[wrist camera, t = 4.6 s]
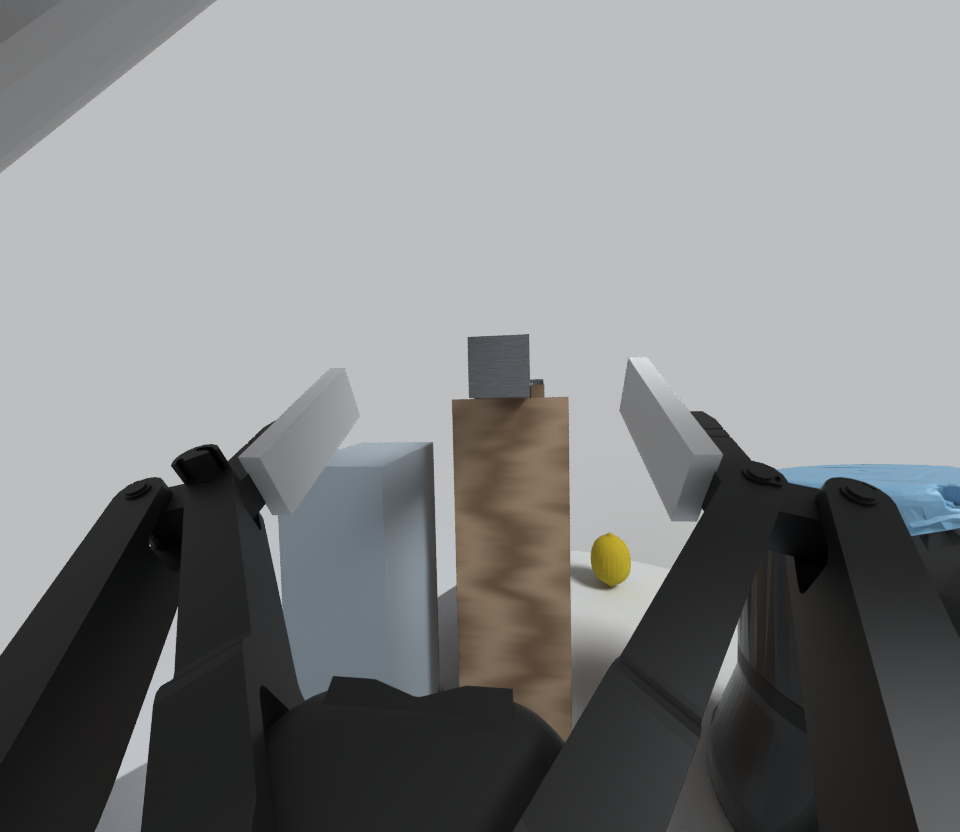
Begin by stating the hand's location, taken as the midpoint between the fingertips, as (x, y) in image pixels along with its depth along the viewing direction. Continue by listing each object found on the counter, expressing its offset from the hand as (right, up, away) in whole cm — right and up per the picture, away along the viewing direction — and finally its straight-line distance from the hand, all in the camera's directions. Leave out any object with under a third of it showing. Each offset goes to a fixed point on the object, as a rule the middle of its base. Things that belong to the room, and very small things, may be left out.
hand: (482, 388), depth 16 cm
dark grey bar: (+3, 0, +13) cm, 14 cm away
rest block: (-8, -28, +12) cm, 32 cm away
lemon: (+19, -27, +35) cm, 48 cm away
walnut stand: (+4, -28, +21) cm, 34 cm away
